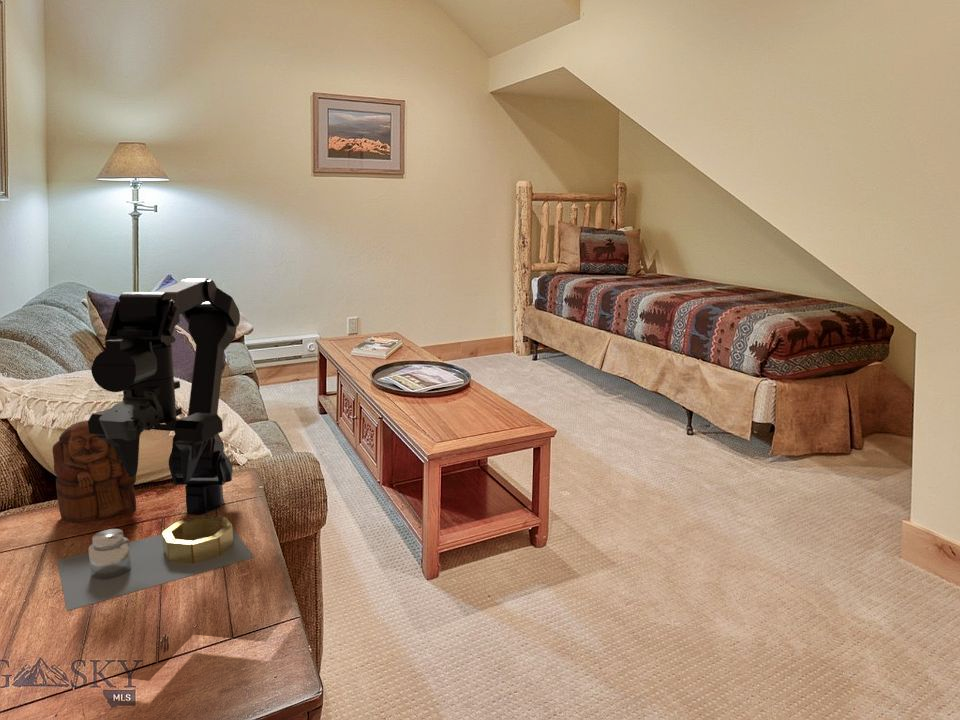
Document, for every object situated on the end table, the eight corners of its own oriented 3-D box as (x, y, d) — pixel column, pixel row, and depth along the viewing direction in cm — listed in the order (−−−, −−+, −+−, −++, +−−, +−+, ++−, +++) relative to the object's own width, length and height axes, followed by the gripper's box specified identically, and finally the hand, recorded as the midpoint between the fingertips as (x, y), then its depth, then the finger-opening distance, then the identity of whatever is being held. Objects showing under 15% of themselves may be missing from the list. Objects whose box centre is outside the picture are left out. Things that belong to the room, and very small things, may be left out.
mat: (225, 527, 109) (224, 518, 109) (255, 566, 96) (254, 557, 96) (58, 568, 95) (57, 559, 95) (68, 621, 82) (66, 610, 82)
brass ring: (188, 531, 104) (187, 514, 103) (242, 535, 103) (241, 518, 102) (151, 559, 95) (149, 541, 94) (210, 565, 94) (208, 546, 93)
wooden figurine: (60, 536, 105) (47, 431, 101) (60, 521, 110) (48, 421, 107) (141, 520, 111) (131, 421, 108) (137, 507, 116) (128, 412, 113)
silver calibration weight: (108, 560, 95) (104, 525, 94) (139, 563, 94) (135, 528, 93) (82, 577, 90) (78, 541, 89) (115, 581, 89) (111, 544, 88)
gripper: (51, 385, 88) (62, 493, 90) (172, 392, 84) (180, 504, 87) (112, 370, 98) (120, 467, 101) (221, 376, 95) (227, 476, 97)
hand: (159, 478), depth 96 cm, fingers open, 9 cm apart
